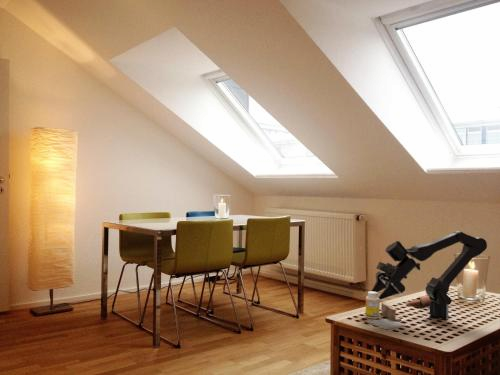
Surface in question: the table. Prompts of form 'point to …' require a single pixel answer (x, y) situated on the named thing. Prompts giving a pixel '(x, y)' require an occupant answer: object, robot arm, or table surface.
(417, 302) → the sunglasses case
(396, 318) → the brown wooden block
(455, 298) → the table surface
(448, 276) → the robot arm
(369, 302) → the supplement bottle
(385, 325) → the slate grey mat
